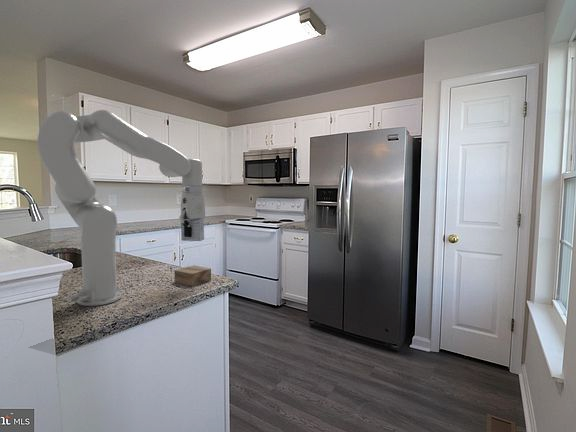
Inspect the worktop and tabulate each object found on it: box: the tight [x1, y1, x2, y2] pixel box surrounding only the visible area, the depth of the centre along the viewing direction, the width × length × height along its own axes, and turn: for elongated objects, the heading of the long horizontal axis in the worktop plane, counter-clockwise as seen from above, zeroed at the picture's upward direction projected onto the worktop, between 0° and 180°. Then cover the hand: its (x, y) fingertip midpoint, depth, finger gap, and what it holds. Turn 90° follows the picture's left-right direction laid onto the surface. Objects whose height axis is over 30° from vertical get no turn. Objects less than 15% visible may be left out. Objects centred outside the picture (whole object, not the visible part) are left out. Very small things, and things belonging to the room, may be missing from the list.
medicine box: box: [180, 218, 205, 242], centre depth 124 cm, size 8×4×9 cm, turn 84°
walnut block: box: [174, 265, 212, 287], centre depth 125 cm, size 10×10×5 cm
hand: (192, 235), depth 124 cm, fingers closed on medicine box, 5 cm apart
